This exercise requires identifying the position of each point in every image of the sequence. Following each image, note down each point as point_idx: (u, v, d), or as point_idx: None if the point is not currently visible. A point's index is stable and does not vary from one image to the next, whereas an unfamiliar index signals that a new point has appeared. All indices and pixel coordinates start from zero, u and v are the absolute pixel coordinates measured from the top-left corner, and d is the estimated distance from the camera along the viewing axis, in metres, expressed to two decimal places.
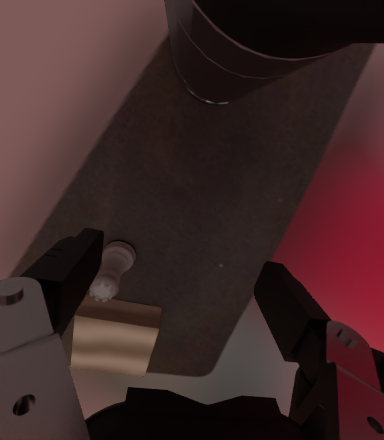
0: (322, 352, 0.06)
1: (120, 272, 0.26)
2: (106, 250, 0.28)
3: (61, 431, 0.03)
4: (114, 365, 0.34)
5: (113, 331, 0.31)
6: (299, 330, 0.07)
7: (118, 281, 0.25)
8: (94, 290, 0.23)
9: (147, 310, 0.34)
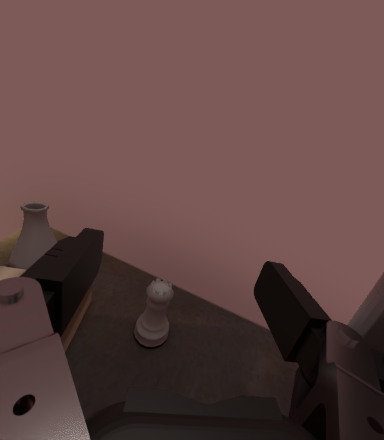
0: (322, 352, 0.06)
1: (159, 315, 0.25)
2: None
3: (61, 431, 0.03)
4: None
5: None
6: (299, 330, 0.07)
7: (157, 308, 0.24)
8: (160, 283, 0.25)
9: None
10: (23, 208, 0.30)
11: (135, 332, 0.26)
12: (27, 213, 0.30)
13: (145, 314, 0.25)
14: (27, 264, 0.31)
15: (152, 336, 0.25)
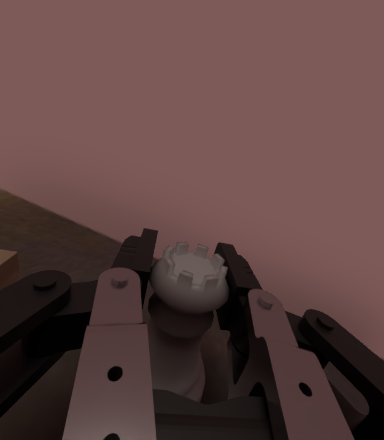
0: (249, 325, 0.06)
1: (186, 349, 0.08)
2: None
3: (135, 411, 0.03)
4: None
5: None
6: (230, 299, 0.08)
7: (183, 330, 0.08)
8: (189, 255, 0.09)
9: None
10: None
11: None
12: None
13: None
14: None
15: None
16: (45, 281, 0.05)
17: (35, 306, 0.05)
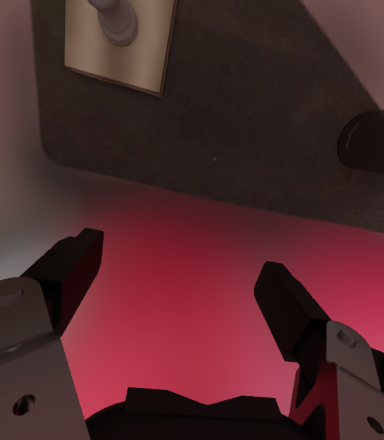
0: (322, 352, 0.06)
1: (111, 17, 0.21)
2: (128, 2, 0.23)
3: (61, 431, 0.03)
4: (84, 18, 0.25)
5: (152, 29, 0.26)
6: (299, 330, 0.07)
7: (103, 12, 0.20)
8: None
9: (163, 79, 0.30)
10: None
11: None
12: None
13: None
14: None
15: (115, 37, 0.24)
16: None
17: None
